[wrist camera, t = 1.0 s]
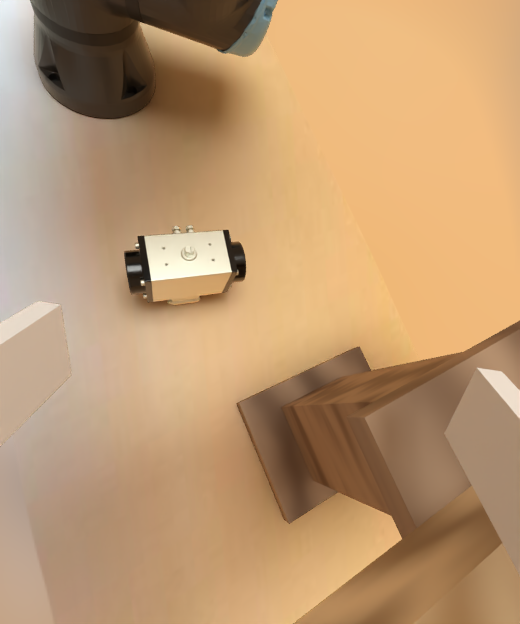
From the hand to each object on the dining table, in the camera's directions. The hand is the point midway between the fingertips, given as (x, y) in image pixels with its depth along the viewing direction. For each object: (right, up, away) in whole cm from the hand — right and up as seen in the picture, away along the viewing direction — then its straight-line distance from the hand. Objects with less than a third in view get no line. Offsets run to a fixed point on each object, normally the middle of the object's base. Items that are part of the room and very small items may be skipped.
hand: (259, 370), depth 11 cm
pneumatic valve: (-10, +5, +32) cm, 34 cm away
